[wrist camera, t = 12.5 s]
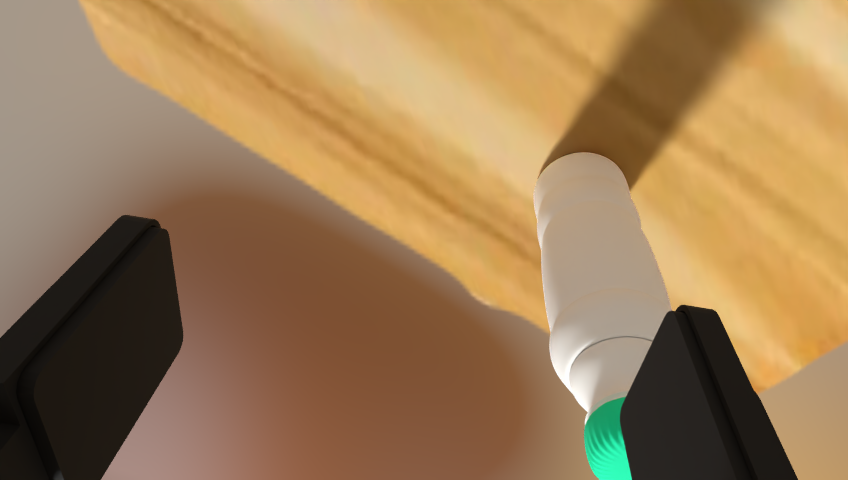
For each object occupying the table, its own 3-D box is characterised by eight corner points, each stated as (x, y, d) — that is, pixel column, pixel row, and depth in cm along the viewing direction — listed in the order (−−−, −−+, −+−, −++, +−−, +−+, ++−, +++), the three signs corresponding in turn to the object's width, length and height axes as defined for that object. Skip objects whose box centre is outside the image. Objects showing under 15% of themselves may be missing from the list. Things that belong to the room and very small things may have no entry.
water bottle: (533, 150, 45) (564, 414, 24) (629, 146, 44) (746, 417, 24) (532, 228, 49) (559, 512, 28) (621, 226, 48) (715, 518, 27)
